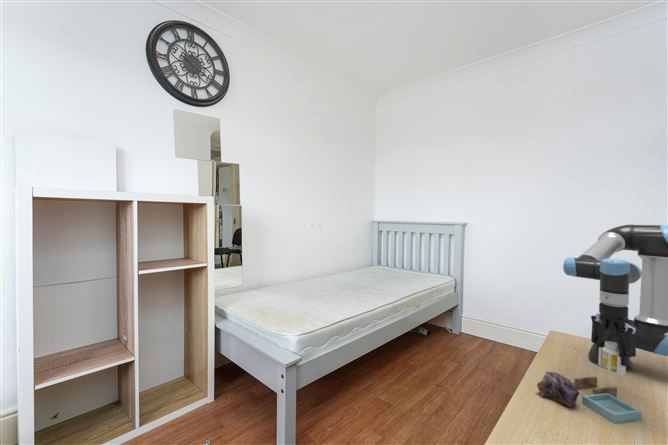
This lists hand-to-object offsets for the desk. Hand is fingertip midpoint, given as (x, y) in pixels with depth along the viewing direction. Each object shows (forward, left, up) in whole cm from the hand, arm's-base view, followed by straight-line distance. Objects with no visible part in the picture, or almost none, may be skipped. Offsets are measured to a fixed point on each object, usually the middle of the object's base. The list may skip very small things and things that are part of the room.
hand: (611, 369), depth 107 cm
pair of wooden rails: (-6, -10, -15) cm, 19 cm away
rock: (+12, -9, -15) cm, 21 cm away
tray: (0, 0, -15) cm, 15 cm away
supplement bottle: (0, 0, 0) cm, 1 cm away
